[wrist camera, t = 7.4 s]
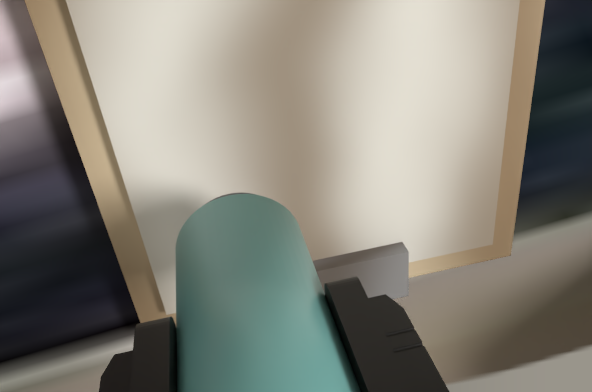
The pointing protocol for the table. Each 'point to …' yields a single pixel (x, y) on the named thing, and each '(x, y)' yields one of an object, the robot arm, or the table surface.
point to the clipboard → (300, 125)
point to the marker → (253, 304)
